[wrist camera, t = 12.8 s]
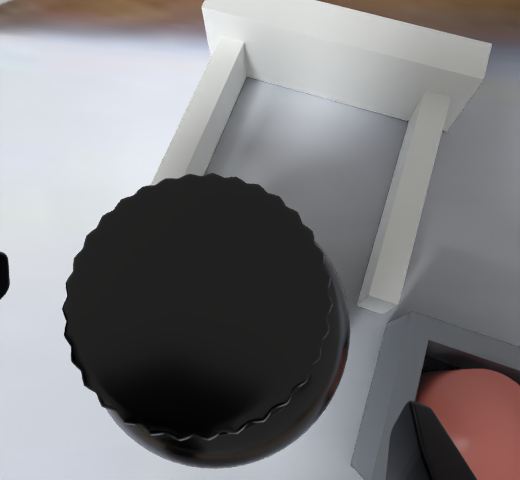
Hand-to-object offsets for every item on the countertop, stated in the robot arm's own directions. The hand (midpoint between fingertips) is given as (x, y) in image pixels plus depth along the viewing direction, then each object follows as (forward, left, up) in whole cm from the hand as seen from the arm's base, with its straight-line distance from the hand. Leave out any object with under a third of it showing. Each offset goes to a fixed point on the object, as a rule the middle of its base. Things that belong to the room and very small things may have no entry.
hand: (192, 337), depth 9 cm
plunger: (-4, -8, -10) cm, 13 cm away
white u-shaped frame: (+8, -5, -10) cm, 14 cm away
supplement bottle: (0, 0, -10) cm, 10 cm away
